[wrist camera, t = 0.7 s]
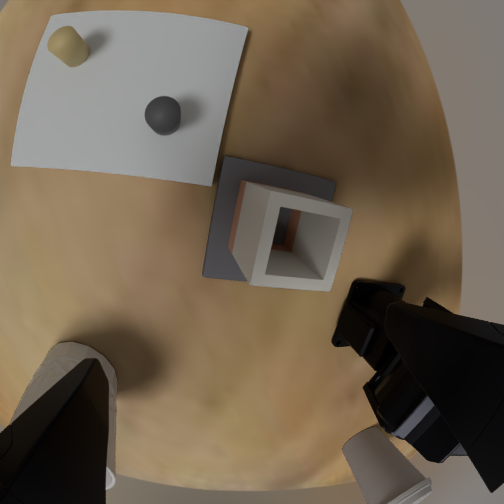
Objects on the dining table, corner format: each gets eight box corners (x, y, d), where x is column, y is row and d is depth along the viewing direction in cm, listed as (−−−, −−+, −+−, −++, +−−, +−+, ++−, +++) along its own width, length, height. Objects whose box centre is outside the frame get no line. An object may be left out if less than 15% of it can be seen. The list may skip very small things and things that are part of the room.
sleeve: (303, 193, 19) (353, 209, 13) (289, 254, 20) (330, 291, 15) (241, 179, 18) (270, 190, 12) (227, 246, 19) (249, 285, 13)
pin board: (245, 33, 15) (261, 7, 11) (209, 185, 18) (217, 192, 14) (56, 20, 11) (36, -2, 7) (17, 165, 14) (-14, 169, 10)
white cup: (31, 330, 17) (-16, 416, 8) (116, 337, 20) (95, 442, 10) (56, 397, 20) (34, 479, 11) (131, 404, 22) (128, 496, 13)
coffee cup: (395, 423, 36) (443, 483, 22) (352, 459, 36) (392, 520, 23) (370, 415, 32) (427, 491, 18) (321, 456, 33) (363, 532, 19)
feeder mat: (332, 181, 20) (336, 182, 19) (306, 283, 22) (309, 286, 21) (223, 156, 17) (224, 155, 17) (202, 273, 20) (202, 277, 19)
